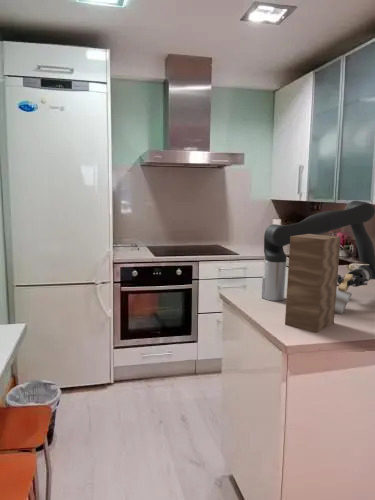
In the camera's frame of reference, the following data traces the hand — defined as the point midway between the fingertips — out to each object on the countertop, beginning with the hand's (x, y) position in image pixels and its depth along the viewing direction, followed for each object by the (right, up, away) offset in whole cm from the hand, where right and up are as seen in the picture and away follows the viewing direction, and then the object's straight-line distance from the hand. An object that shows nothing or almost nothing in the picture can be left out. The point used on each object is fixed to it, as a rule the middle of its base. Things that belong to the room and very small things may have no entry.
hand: (344, 283), depth 167 cm
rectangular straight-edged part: (-1, -4, -1) cm, 4 cm away
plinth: (-22, -13, -22) cm, 34 cm away
